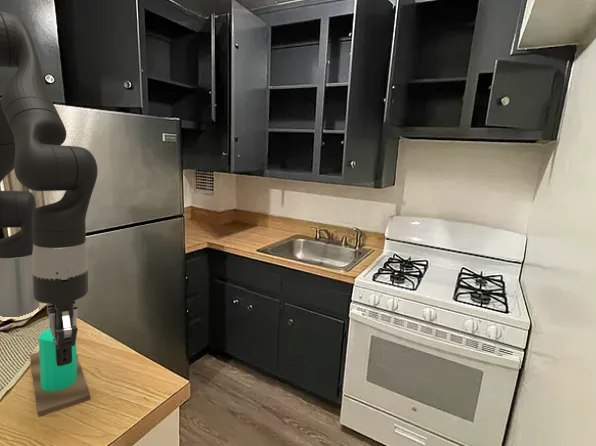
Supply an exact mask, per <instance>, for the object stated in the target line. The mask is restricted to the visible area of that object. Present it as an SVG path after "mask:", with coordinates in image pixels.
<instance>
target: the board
mask: <svg viewBox="0 0 596 446" xmlns="http://www.w3.org/2000/svg"><path fill="white" fill-rule="evenodd" d="M30 359H31V361H30V368H31V374H32V382H33V389H34V397H35V404H36V409H37V417H41V416H44V415H47V414H50V413H54V412H55V411H59V410H62V409H66V408H69V407H71V406H74V405H78V404H81V403H83V402H86V401H89V400H91V393H90V389H89V387H88V384H87V381H86V378H85V375H84V373H83V369H82V367H81V364H80V363H81V362H80V360H79V358H78V354H77V353H76V362H77V380H76V381H75V382H74V383H73V384H72V385H70V386H69V387H67V388H65V389H62V390H58V391H45V390H44V389H42V388H41V376H40V355H39V352H34V353H30V354H29V360H30Z"/></svg>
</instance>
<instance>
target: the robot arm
mask: <svg viewBox="0 0 596 446" xmlns="http://www.w3.org/2000/svg"><path fill="white" fill-rule="evenodd" d="M40 62H41V61H40V59H39V56H38V54H37V50H36V46H35V42H34V41H33V37H32V35H31V33H30V30H29V28H28V26H27V25H26V23H25V22H24V21H23V19H21V18H20V17H19V16H17V15H15V14H12V13H8V12H4V11H0V67H1V68H2V67H3V68H10V69H11V68H17V70H16V72H15V74H14V75H13V76H12V78H11V79H10V80H9V81H8V83H6V85H5V87H4V89H3V92H2V94H1V97H0V184H1V183H2V181H3V180H4V179H5V178H6V177H7V176H8V175H9V174H10V173H12V171H13V170H14V175H15V178H16V179H17V181H18V182H19V183H20V184H21V185H22V186H23V187H25V188H26V189H29V190H31V191H35V192H36V191H37V192H59V191H61V192H62V191H64V194H63V196H62V197H61V199H59V200H57V201H55V202H52V203H49V204H45V205H41V206H38V207H37V203H36V202H37V201H36V198H35V195H34V194H33V192H31V191H29V190H28V191H27V190H26V191H25V190H0V229H2V228H3V229H6V228H7V229H8V228H9V229H10V228H11V229H12V228H20V229H19V230H18V231H17V232H16V233H14V234H11V235H9V236H6V237H4V238H0V316H2V317H20V316H23V315H26V314H29V313H31V312H33V311H34V310H36V309H37V308H38V307H39V308H40V303H42V304H47V305H46V313H47V315H48V320H49V329H51V333H52V337H54V338H53V341H54V346H55V351H56V363H57V366H63V365H66V364H70V363H71V362H72V346H74V345H75V340H76V341H77V334H78V331H79V329H78V327H77V318H79V317H78V316H79V309H78V306H76V301H77V300H79V299H82V298H83V297H85V296H86V295H87V294H88V292H89V261H88V260H89V258H88V254H89V253H88V249H87V248H88V247H87V242H86V241H87V240H86V239H87V238H86V234H87V233H86V227H87V226H86V217H87V213H88V210H89V204H90V201H91V198H92V194H93V192H94V189H95V186H96V182H97V179H98V172H99V171H98V164H97V159H96V158H95V156H94V154H93V153H91V151H90V150H89V149H87V148H84V147H83V146H76V145H75V146H73V145H63V144H64V142H65V141H66V139H67V128H66V126H65V125H64V122H63V120H62V118H61V116H60V115H59V114H60V113H58V111H57V108H56V107H55V104H54V103H53V101H52V98H51V96H50V94H49V91H48V88H47V85H46V84H47V83H46V80H45V76H44V74H43V73H44V72H43V70H42V67H41V63H40Z"/></svg>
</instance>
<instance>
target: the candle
mask: <svg viewBox="0 0 596 446" xmlns="http://www.w3.org/2000/svg"><path fill="white" fill-rule="evenodd" d="M53 338H54V337H52V333H51V329H50V328H47V329H45V330H43V331H42V332H41V333H40V334H39V335H38V351H39V355H40V376H41V388H42V389H44V390H45V391H58V390H62V389H65V388H67V387H69V386H70V385H72V384H73V383H74V382H75V381H76V380H77V362H76V354H77V339H76V340H75V345H74V346H72V362H71V363H70V364H66V365H63V366H57V363H56V351H55V346H54V341H53Z"/></svg>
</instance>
